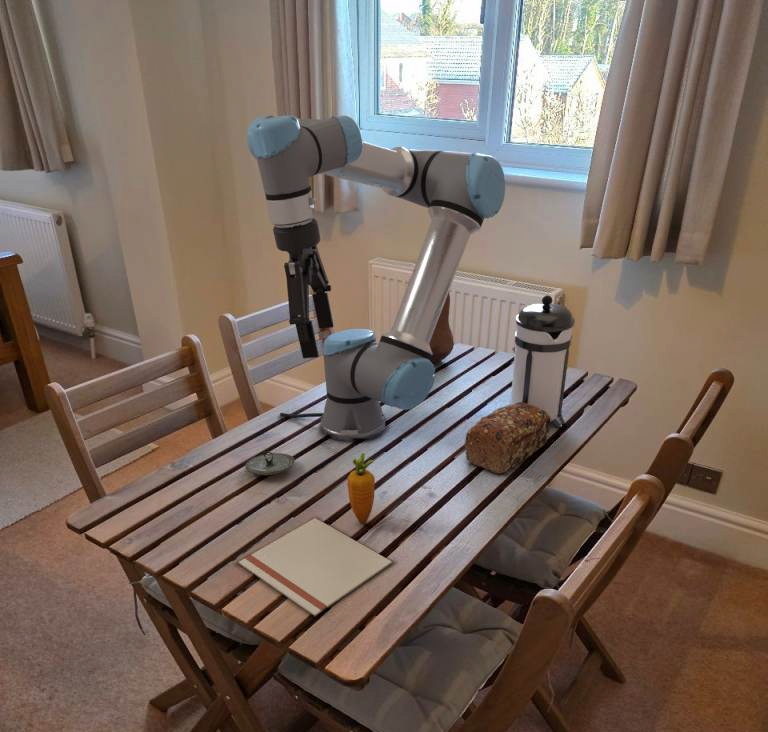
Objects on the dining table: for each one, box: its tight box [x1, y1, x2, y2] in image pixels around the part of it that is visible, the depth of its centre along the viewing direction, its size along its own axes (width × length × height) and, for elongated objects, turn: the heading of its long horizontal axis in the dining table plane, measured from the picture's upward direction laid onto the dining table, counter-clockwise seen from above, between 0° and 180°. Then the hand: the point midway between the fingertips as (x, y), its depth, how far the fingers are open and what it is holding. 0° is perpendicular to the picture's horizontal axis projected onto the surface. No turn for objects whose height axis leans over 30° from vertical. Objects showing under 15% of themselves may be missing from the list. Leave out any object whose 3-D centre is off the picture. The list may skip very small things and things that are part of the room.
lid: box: [245, 450, 296, 476], centre depth 147 cm, size 11×10×5 cm
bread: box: [464, 402, 552, 474], centre depth 150 cm, size 19×11×10 cm, turn 137°
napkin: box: [238, 517, 393, 617], centre depth 121 cm, size 20×18×1 cm
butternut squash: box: [407, 278, 454, 366], centre depth 191 cm, size 14×13×25 cm
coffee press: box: [509, 295, 576, 428], centre depth 160 cm, size 17×16×30 cm
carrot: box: [346, 452, 376, 526], centre depth 127 cm, size 5×5×15 cm
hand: (319, 341), depth 126 cm, fingers open, 13 cm apart
